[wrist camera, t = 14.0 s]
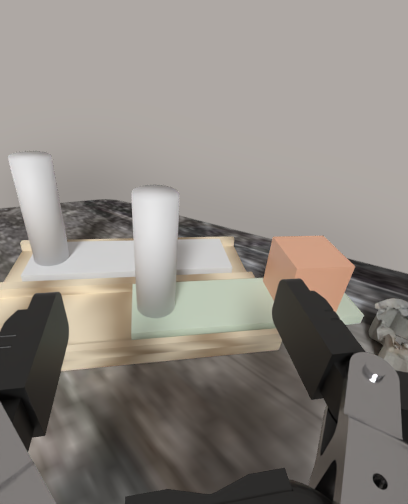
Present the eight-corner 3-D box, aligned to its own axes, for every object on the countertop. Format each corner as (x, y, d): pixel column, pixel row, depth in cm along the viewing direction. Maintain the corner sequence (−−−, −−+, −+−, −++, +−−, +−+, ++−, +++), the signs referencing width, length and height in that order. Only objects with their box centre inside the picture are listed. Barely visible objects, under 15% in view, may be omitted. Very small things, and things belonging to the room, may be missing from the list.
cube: (309, 278, 31) (323, 235, 28) (335, 313, 27) (355, 266, 24) (262, 281, 30) (272, 236, 27) (282, 317, 26) (297, 268, 23)
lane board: (231, 250, 39) (233, 236, 38) (278, 350, 26) (284, 333, 25) (26, 255, 34) (22, 240, 33) (-46, 381, 21) (-56, 362, 20)
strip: (218, 245, 37) (229, 154, 31) (231, 275, 32) (247, 172, 26) (40, 250, 33) (15, 146, 27) (23, 284, 28) (-12, 166, 22)
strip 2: (326, 282, 32) (362, 182, 26) (360, 323, 27) (414, 211, 21) (133, 292, 28) (126, 177, 23) (131, 342, 23) (123, 211, 18)
